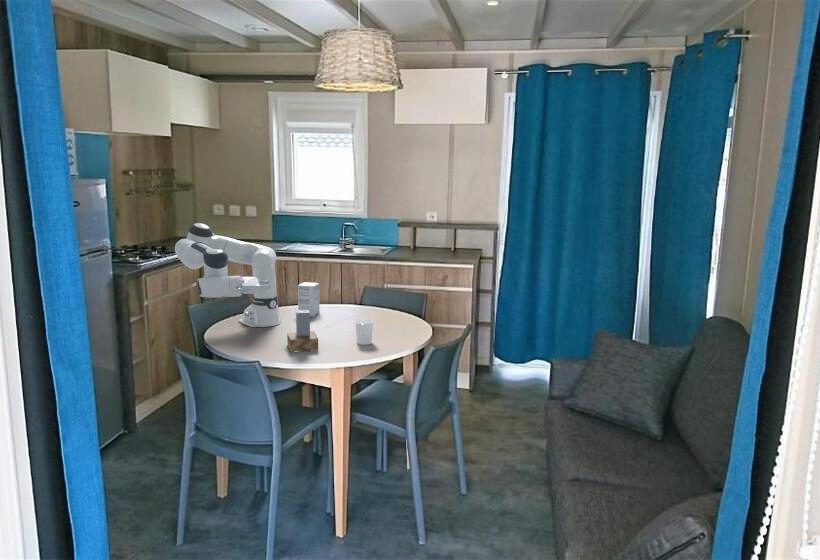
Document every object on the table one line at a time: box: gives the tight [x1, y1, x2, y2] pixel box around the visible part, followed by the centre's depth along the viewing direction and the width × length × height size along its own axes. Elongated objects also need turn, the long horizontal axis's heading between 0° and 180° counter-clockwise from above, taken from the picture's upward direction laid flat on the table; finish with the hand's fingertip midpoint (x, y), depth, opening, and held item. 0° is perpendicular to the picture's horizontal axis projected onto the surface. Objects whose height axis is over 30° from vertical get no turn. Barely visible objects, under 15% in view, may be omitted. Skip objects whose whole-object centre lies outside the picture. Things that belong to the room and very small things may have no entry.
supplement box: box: [297, 281, 321, 317], centre depth 348 cm, size 10×9×17 cm
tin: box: [295, 309, 311, 338], centre depth 284 cm, size 6×6×11 cm
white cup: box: [355, 319, 374, 346], centre depth 294 cm, size 8×8×10 cm
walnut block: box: [286, 331, 319, 353], centre depth 285 cm, size 12×12×6 cm
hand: (269, 284), depth 276 cm, fingers open, 8 cm apart
